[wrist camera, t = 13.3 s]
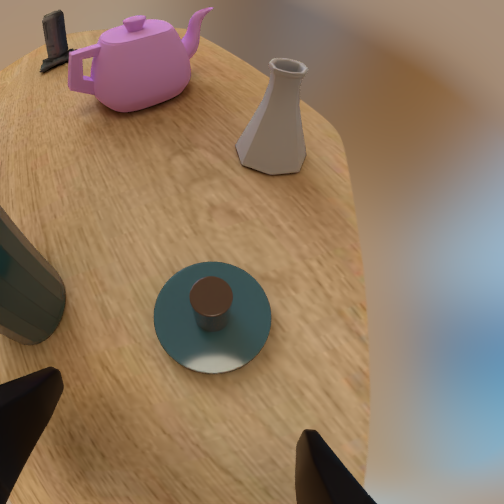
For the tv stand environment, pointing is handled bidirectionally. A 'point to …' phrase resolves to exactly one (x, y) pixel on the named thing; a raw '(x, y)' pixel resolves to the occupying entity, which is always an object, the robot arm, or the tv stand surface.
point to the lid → (212, 317)
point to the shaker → (27, 288)
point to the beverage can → (55, 40)
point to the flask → (276, 123)
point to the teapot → (137, 63)
